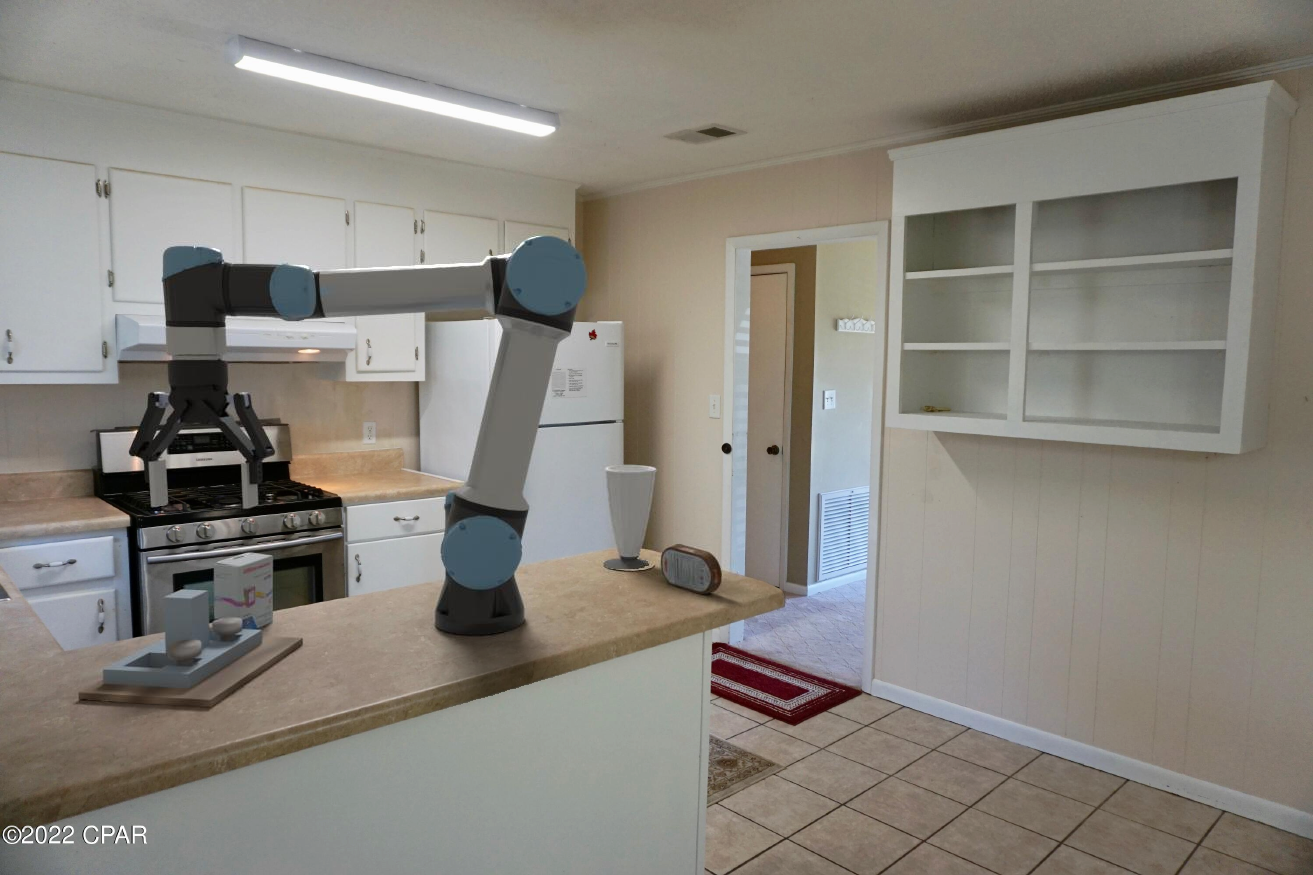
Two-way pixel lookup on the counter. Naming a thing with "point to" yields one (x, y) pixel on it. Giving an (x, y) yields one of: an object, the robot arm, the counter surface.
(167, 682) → the panel
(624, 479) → the cup
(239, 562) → the ink box
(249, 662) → the boss board
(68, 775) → the counter surface
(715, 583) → the tin
